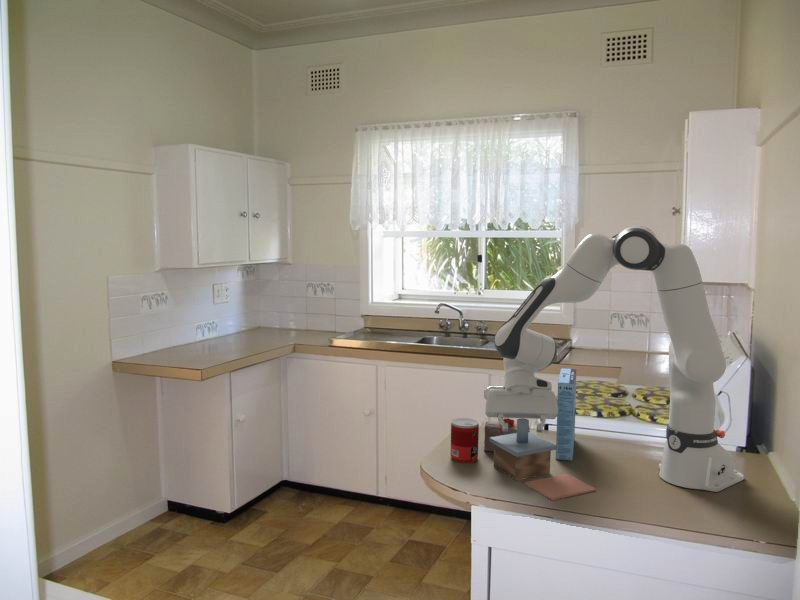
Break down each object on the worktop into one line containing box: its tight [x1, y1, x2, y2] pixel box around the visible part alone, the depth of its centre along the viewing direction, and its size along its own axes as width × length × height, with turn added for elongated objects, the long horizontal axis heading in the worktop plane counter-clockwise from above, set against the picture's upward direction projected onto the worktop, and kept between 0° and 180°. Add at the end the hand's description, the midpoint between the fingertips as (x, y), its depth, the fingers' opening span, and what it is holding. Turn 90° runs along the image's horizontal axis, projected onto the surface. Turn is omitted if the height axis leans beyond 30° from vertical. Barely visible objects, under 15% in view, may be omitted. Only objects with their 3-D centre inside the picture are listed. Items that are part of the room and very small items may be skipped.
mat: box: [524, 473, 597, 501], centre depth 170 cm, size 14×11×1 cm
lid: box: [489, 418, 556, 457], centre depth 180 cm, size 13×13×8 cm
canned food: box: [450, 417, 480, 464], centre depth 189 cm, size 8×8×11 cm
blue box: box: [555, 368, 577, 462], centre depth 196 cm, size 20×5×23 cm, turn 163°
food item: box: [483, 418, 531, 453], centre depth 196 cm, size 14×8×10 cm, turn 76°
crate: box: [493, 444, 552, 481], centre depth 181 cm, size 11×11×7 cm
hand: (522, 431), depth 180 cm, fingers open, 8 cm apart
